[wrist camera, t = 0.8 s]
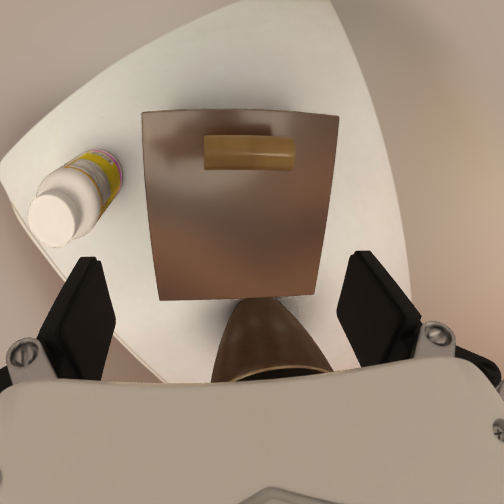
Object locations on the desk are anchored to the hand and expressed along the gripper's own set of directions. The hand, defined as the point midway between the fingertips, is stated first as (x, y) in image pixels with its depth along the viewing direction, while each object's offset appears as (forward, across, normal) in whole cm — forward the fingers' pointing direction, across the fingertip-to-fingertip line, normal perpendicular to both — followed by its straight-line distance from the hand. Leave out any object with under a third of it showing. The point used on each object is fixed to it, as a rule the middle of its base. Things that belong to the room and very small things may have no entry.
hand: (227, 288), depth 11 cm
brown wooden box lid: (+13, -2, +2) cm, 13 cm away
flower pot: (+24, -6, +23) cm, 34 cm away
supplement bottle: (+25, +14, +2) cm, 28 cm away
